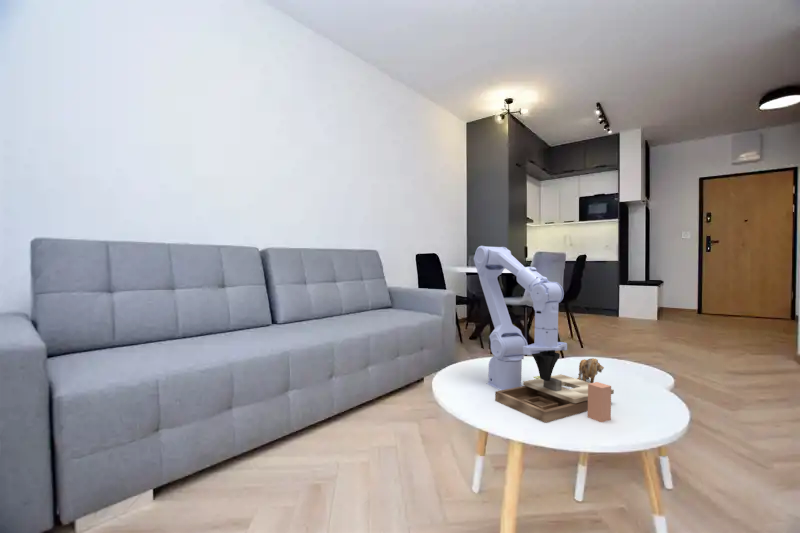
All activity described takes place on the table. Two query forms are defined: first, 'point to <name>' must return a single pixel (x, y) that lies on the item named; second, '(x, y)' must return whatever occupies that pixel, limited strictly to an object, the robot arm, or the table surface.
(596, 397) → the terracotta rectangular block
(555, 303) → the robot arm
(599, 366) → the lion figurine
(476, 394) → the table surface
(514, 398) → the wooden box
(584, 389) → the lid
